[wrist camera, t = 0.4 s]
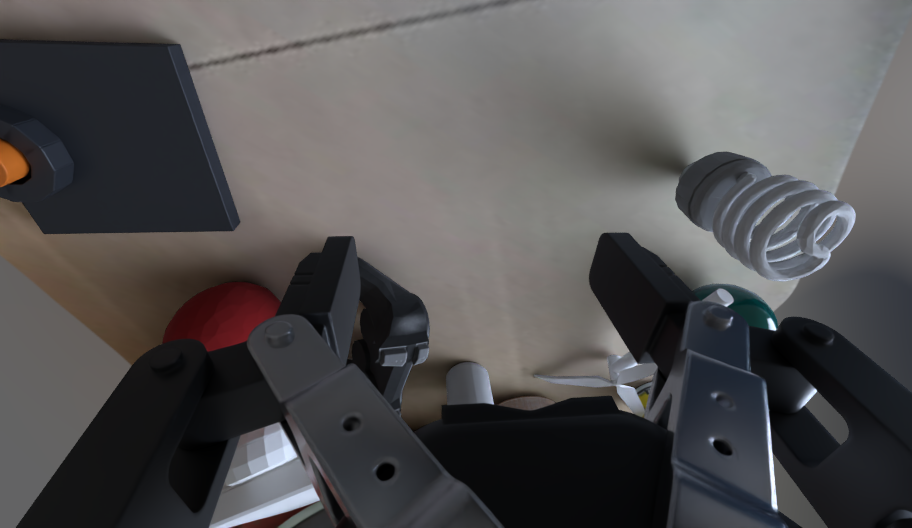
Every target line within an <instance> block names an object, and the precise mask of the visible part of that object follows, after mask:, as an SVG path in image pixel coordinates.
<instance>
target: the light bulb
mask: <svg viewBox="0 0 912 528" xmlns="http://www.w3.org/2000/svg"><path fill="white" fill-rule="evenodd" d="M772 188H773V189H772ZM785 197H786V198H785ZM783 198H785V200H784V201H783V202H781V203H780V204H779V205H777V206H776V207H775V208H773V210H772V211H771V212H770V213H769V214H768V215H767V216H766V217H765V218H764V219H763V220H762V222H761V223H760V224H759V225H757V226H755V225H756V223H757V221H758V220H759V219H760V218H761V216H762V215H763V214H764V213H765V212H766V211H767V210H768V209H769V208H770V207H771V206H772V205H773V204H775V203H776V202H778V201H779V200H781V199H783ZM675 200H676V202H677V205H678V208H679V209H680V210H681V211H682V212H683V213H684V214H685V215H686V216H687V217H688V218H689V219H690V220H691V221H692V222H693V223H694V224H695V225H697V226H698V227H701V228H702V229H704V230H706V231H710V232H713V234H714V237H715V238H716V240H717V242H718V243H719V244H720V245H721V246H722V247H724V248H725V249H726V251H727V252H728V253H729V254H730V255H731V256H732V257H733V258H735V259H737V260H739V261H740V262H741V263H742V264H743V265H744V266H746V267H747V268H749V269H751V270H754V271H756V272H757V273H758V274H759V275H761V276H763V277H764V278H766V279H769V280H772V281H788V280H794V279H798V278H802V277H805V276H807V275H809V274H811V273H813V272H815V271H816V270H818V269H820V268H822V267H823V266H824V265H825V264H826V263H827V262H828V261H829V258H830V256H831V254H830V252H831V251H832V250H833V249H835V248H836V247H837V246H838V245H839V244H840V243H841V242H842V241H843V240H844V239H845V237H846V236H847V235H848V234H849V232H850V231H851V229H852V227H853V225H854V222H855V216H856V215H855V211H854V209H853V208H852V207H851V206H850V205H849V204H847V203H846V202H843V201H839V200H837V199H836V198H835V196H834V195H833V194H832V193H831V192H829V191H825V190H820V189H819V188H818V187H817V186H816V185H815V184H813V183H811V182H808V181H802V180H798V179H797V178H795V177H793V176H790V175H776V176H771V173H770V172H769V170H768V169H767V167H765V166H764V165H762V164H760V162H758V161H756V160H754V159H752V158H748V157H745V156H742V155H738V154H735V153H731V152H716V153H713V154H711V155H708V156H705V157H703V158H702V159H700V160H698V161H696V162H694V163H692V164H690V165H688V166H687V167H686V168H685V169H684V170H683V172H682V173H681V175H680V177H679V183H678V186H677V188H676V198H675ZM800 208H801V210H800V212H799V214H798V215H797V216H796V217H795V218H794V219H793V220H792V221H791V222H790V223H789V224H788V225H787V226H786V227H785V228H784V229H782V230H780V231H778V232H777V233H775V234H773V233H774V232H775V230H776V229H777V228H778V227H780V226H781V225H783V224H784V223H785V222H786V221H787V220H788V219H789V218H790V217H791V216H792V215H793V214H794V212H795V211H797V210H798V209H800ZM836 216H837V221H836V224H835V226H834V228H833V229H832V231H831V232H830V233H829V234H828V235H827V236H826V238H825V239H824V240H823V241H821V242H820V243H819V244H816V243H815V241H816V240H818V239H819V238H820V237H821V236H822V235H823V234H824V233H825V232H826V231H827V230H828V229H829V227H830V226H831V225H832V223H833V221H834V220H835V218H836ZM796 235H797V239H796V240H795V241H793V242H791V243H789V244H787V245H785V246H783V247H781V248H778V249H775V250H772V251H767V252H766V250H769V249H772V248H775V247H777V246H779V245H781V244H783V243H785V242H787V241H789V240H790V239H792V238H793V237H794V236H796ZM750 239H752V240H751V242H750ZM800 251H802V252H804V253H803V254H801V255H798V256H796V257H793V258H791V259H787V260H784V261H779V260H783V259H785V258H788V257H791V256H793V255H795V254H797V253H798V252H800ZM776 261H777V262H776Z"/></svg>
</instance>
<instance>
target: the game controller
mask: <svg viewBox="0 0 912 528" xmlns="http://www.w3.org/2000/svg"><path fill="white" fill-rule="evenodd" d="M357 259H358V266H359V273H360V284H361V287H360V298H359V300H360V301H361V302H362V303H363V305H364V306H365V307H366V309H363V311H362V312H361V316H360V327H361V333H362V335H363V338H364V339H361V340H356V341H354V343H353V345H352V358H353V360H352V359H347V363H346V366H347V365H348V364H350V363H353V364H355V365H356V366H357V367H358V368H359V369H360V370H361V371H362V372H363V373H364V374H365V376H366V377H367V378H368V379H369V380H370V381H371V383H372V384H373V385H374V386H375V387H376V389H377V390H378V391H379V392H380V393H381V394H382V396H383V397H384V398H385V399H386V400H387V401H388V403H389V404H390V405H391V406H392V407H393V409H394V410H395V411H396V412H397V413H398V414H399V416H400V417H401V413H400V411H401V403H402V390H403V387H404V385H405V382H406V380H407V377H408V375H409V372H410V370H411V367H412V365H416V364H420V363H423V362H424V361H425V360H426V359H427V358H428V352H429V347H428V344H429V339H428V338H429V331H430V326H429V318H428V313H427V310H426V308H425V305H424V304H423V302H422V300H421V299H420V298H419V297H418V296H416V295H415V294H412V293H410V292H408V291H407V290H405V289H404V288H403V287H401V286H400V285H398V284H397V283H395V282H394V281H393V280H391V279H390V278H388V277H387V276H385V275H384V274H383V273H381V272H380V271H378V270H377V269H375V268H374V267H373V266H371V265H370V264H368V263H367V262H365V261H364V260H362V259H361V258H359V257H357Z"/></svg>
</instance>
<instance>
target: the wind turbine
mask: <svg viewBox="0 0 912 528" xmlns="http://www.w3.org/2000/svg"><path fill="white" fill-rule="evenodd" d="M702 301H711V302H715V303H719V304H721V305H724V306H726V307H727V306H728V305H730V304H731V303H733V301H734V300H733V297H732V295H731V294H730V293H729V292H727V291H726V290H724V289H718V290H716V291H715V292H713V293H712V294H711V295H709V296H708V297H706V298H705V299H703V300H702ZM607 362H608V368H609V374H610V380H611V381H609V380H607V379H605V378H603V377H600V376H547V375H537V374H535V375H534V377H537V378H540V379H542V380H545V381H547V382H550V383H556V384H566V385H577V386H587V387H597V388H598V387H607V386H616V387H617V393H618V394H619V395H620V397H621V398H622V399H623V400H624V402H625V403H626V404H627V405H628V407H629V408H630V409H631V410H632V412H633V413H634V414H635V415H638V416H640V417H643V415H644V413H645V409H644V407H643V405H642V403H641V401H640V399H639V397H638V395H637V392H636V390H635V388H633V387H629V386H625V385H621V384H625V383H629V382H633V381H636V380H639V379H642V378H645V377H648V376H651V375H654V373H655V371H656V369H657V365H656V364H655V363H646V364H642V365H638V366H635V365H637V362H636V361H635V359H634V357H633V356H632V354H631V352H628V353H627V354H625V355H624V356H622V357H620V356H618V355H609V356H608V357H607ZM634 366H635V367H634Z"/></svg>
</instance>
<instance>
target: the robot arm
mask: <svg viewBox="0 0 912 528" xmlns="http://www.w3.org/2000/svg"><path fill="white" fill-rule="evenodd" d="M589 283H590V287H591V289H592V291H593V293H594V294H595V296H596V298H597V299H598V301H599V302H600V304H601V306H602V307H603V309H604V310H605V312H606V314H607V315H608V317H609V319H610V320H611V322H612V323H613V325H614V327H615V328H616V330H617V331H618V333H619V335H620V336H621V338H622V340H623V341H624V343H625V344H626V346H627V348H628V349H629V351H630V352H631V354H632V356H633V357H634V359H635V361H636V362H637V364H645V363H655V364H656V365H657V369H656V371H655V373H654V375H653V379H652V383H651V388H650V392H649V396H648V400H647V405H646V409H645V413H644V417H640V416H638V415H635V414H632V413H629V412H625V411H622V410H619V409H618V407H617V405H616V403H615V401H614V399H613V397H612V396H599V397H581V398H570V399H567V400H564V401H561V402H557V403H554V404H551V405H548V406H545V407H542V408H539V409H536V410H523V409H517V408H511V407H506V406H500V405H494V404H488V403H474V404H456V405H442V419H440V420H437V421H434V422H432V423H430V424H428V425H425V426H423V427H421V428H420V429H418V430H417V431H415V432H413V431H412V430H411V429H410V427H409V426H408V425H407V424H406V423H405V421H404V420H403V419H402V418H401V417H400V416H399V414H398V413H397V412H396V411H395V410H394V409H393V407H392V406H391V405H390V404H389V403H388V401H387V400H386V399H385V398H384V397H383V396H382V394H381V393H380V392H379V391H378V390H377V389H376V387H375V386H374V385H373V384H372V383H371V381H370V380H369V379H368V378H367V377H366V376H365V374H364V373H363V372H362V371H361V370H360V369H359V368H358V367H357V366H356V365H355V364H353V363H350V364H348V365H347V366H346V363H347V358H348V353H349V348H350V343H351V338H352V333H353V328H354V323H355V318H356V313H357V308H358V303H359V298H360V287H361V284H360V273H359V266H358V259H357V252H356V245H355V240H354V237H353V236H333V237H328V238H327V240H326V243H325V246H324V248H323V251H322V252H321V253H310V254H309V255H308V256H307V257H305V258H304V259H303V260H302V261H301V262H300V263H299V265H298V267H297V269H296V271H295V276H293V278H292V280H291V282H290V285H289V287H288V289H287V291H286V293H285V295H284V297H283V300H282V302H281V304H280V306H279V308H278V310H277V313H276V315H275V317H272V318H270V319H267V320H265V321H263V322H262V323H260V324H259V325H258V326H256V327H255V328H254V329H253V330H252V331H251V333H250V334H249V336H248V338H247V341H245V342H242V343H239V344H236V345H232V346H228V347H224V348H220V349H216V350H213V351H209V352H207V350H206V348H205V346H204V344H203V343H202V342H200V341H198V340H195V339H177V340H173V341H169V342H166V343H163V344H161V345H158V346H156V347H154V348H153V349H151V350H149V351H148V352H146V353H145V354H143V355H142V356H141V357H140V358H139V359H137V360H136V361H135V363H134V364H133V365H132V366H131V368H130V369H129V371H128V372H127V374H126V375H125V376H124V378H123V379H122V380H121V382H120V383H119V384H118V386H117V387H116V389H115V390H114V391H113V393H112V394H111V396H110V397H109V398H108V400H107V401H106V403H105V404H104V405H103V407H102V408H101V410H100V411H99V412H98V414H97V415H96V417H95V418H94V419H93V421H92V422H91V424H90V425H89V426H88V428H87V429H86V431H85V432H84V433H83V435H82V436H81V437H80V439H79V440H78V442H77V443H76V444H75V446H74V447H73V449H72V450H71V451H70V453H69V454H68V456H67V457H66V458H65V460H64V461H63V463H62V464H61V465H60V467H59V468H58V469H57V471H56V472H55V474H54V475H53V476H52V478H51V479H50V481H49V482H48V483H47V485H46V486H45V488H44V489H43V490H42V492H41V493H40V495H39V496H38V497H37V499H36V500H35V502H34V503H33V504H32V506H31V507H30V509H29V510H28V511H27V513H26V514H25V515H24V517H23V518H22V520H21V521H20V523H19V524H18V525H17V527H16V528H209V526H210V523H211V520H212V517H213V514H214V511H215V508H216V505H217V503H218V500H219V497H220V494H221V491H222V488H223V485H224V482H225V479H226V477H227V474H228V471H229V468H230V465H231V462H232V459H233V456H234V454H235V451H236V448H237V445H238V442H239V439H240V436H241V435H243V434H246V433H249V432H252V431H255V430H258V429H261V428H263V427H266V426H269V425H272V424H275V423H278V422H279V424H280V426H281V428H282V430H283V431H284V433H285V435H286V437H287V439H288V440H289V442H290V444H291V446H292V448H293V449H294V451H295V453H296V455H297V457H298V458H299V460H300V462H301V464H302V466H303V467H304V469H305V471H306V473H307V475H308V477H309V479H310V481H311V483H312V485H313V487H314V489H315V491H316V493H317V495H318V497H319V499H320V501H321V503H322V505H323V507H324V509H325V511H326V513H327V515H328V516H329V518H330V520H331V522H332V524H333V526H334V527H335V528H802V527H800V526H799V525H798V524H796V523H795V522H794V521H792V520H791V519H789V518H788V517H787V516H785V515H784V514H782V513H781V512H780V511H778V510H777V504H776V492H775V480H774V468H773V457H772V452H773V454H774V455H775V456H776V458H777V459H778V460H779V462H780V463H781V464H782V466H783V467H784V469H785V470H786V471H787V472H788V474H789V475H790V477H791V478H792V479H793V481H794V482H795V483H796V484H797V486H798V487H799V489H800V490H801V492H802V493H803V494H804V496H805V497H806V498H807V500H808V501H809V502H810V504H811V505H812V506H813V507H814V509H815V510H816V512H817V513H818V514H819V516H820V517H821V519H822V520H823V521H824V523H825V524H826V525H827V527H828V528H912V393H911V392H910V391H909V390H908V389H907V388H905V387H904V386H903V385H902V384H900V383H899V382H898V381H897V380H896V379H894V378H893V377H892V376H891V375H890V374H888V373H887V372H886V371H885V370H884V369H882V368H881V367H880V366H879V365H877V364H876V363H875V362H874V361H872V360H871V359H870V358H869V357H868V356H866V355H865V354H864V353H863V352H862V351H860V350H859V349H858V348H857V347H856V346H854V345H853V344H852V343H851V342H849V341H848V340H847V339H846V338H844V337H843V336H842V335H841V334H839V333H838V332H837V331H835V330H833V329H832V328H830V327H828V326H826V325H824V324H822V323H819V322H816V321H814V320H811V319H807V318H802V317H788V318H785V319H784V320H783V321H782V322H781V323H780V325H779V326H778V328H777V329H776V330H770V329H764V328H759V327H753V326H748V324H747V322H746V320H745V319H744V318H743V317H742V316H741V315H739V314H738V313H737V312H735V311H734V310H732V309H730V308H728V307H726V306H724V305H721V304H719V303H715V302H711V301H701V300H700V299H699V298H698V297H697V296H696V295H695V294H694V293H693V292H692V291H691V290H690V289H689V288H688V287H687V286H686V285H685V284H684V283H683V282H682V281H681V279H680V278H679V277H678V276H675V273H674V272H673V271H672V270H671V269H670V268H669V267H667V265H666V264H665V263H664V262H663V261H662V260H661V259H660V258H659V257H658V256H657V255H656V254H654V253H652V252H650V251H649V250H647V249H645V248H644V247H641V246H640V245H639V244H638V243H637V242H636V240H635V239H634V238H633V237H632V236H631V235H630V234H629V233H603V234H602V235H601V236H600V238H599V241H598V245H597V248H596V252H595V255H594V258H593V262H592V265H591V269H590V273H589ZM817 391H818V392H819V393H820V394H821V395H822V396H823V397H824V398H825V399H826V400H827V401H828V402H829V403H830V404H831V405H832V406H833V407H834V408H835V409H836V410H837V412H839V414H841V416H842V417H843V418H844V419H845V421H846V423H847V425H848V428H849V436H848V438H847V440H846V441H845V442H844V443H843V444H842V445H840V444H839V443H838V442H837V441H836V440H835V439H834V437H833V436H831V434H830V433H829V432H828V431H827V430H826V429H825V428H824V426H823V425H822V424H821V423H820V422H819V421H818V420H817V419H816V418H815V417H814V415H813V414H812V413H811V412H810V411H809V410H808V409H807V408H806V407H805V406H804V405H805V404H806V403H807V401H809V399H810V398H811V397H812V396H813V395H814V394H815V393H816V392H817Z"/></svg>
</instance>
